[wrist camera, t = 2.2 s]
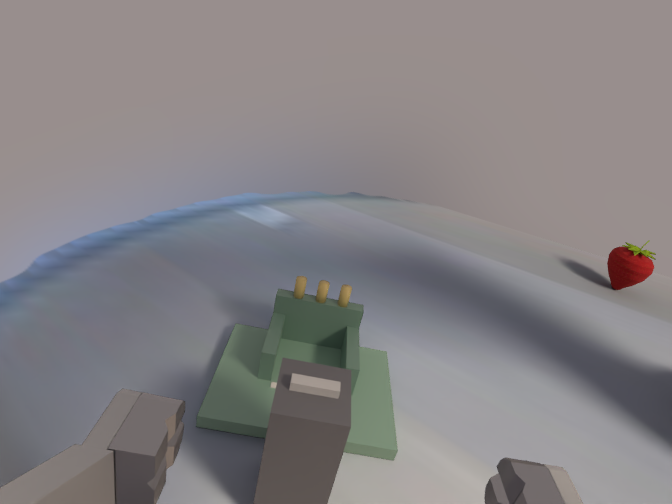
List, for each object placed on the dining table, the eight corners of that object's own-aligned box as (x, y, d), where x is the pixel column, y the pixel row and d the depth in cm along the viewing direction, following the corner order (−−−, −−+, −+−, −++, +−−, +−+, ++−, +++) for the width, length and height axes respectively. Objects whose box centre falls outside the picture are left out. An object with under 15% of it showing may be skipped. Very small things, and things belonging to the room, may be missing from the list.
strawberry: (614, 279, 79) (642, 231, 74) (644, 302, 72) (677, 251, 68) (587, 275, 78) (613, 227, 73) (615, 299, 71) (646, 246, 67)
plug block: (318, 530, 28) (353, 419, 23) (250, 519, 28) (271, 405, 23) (323, 468, 32) (353, 363, 27) (263, 458, 32) (283, 350, 27)
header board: (393, 460, 34) (423, 386, 30) (196, 426, 33) (202, 345, 29) (383, 359, 45) (404, 295, 41) (235, 331, 44) (243, 263, 40)
